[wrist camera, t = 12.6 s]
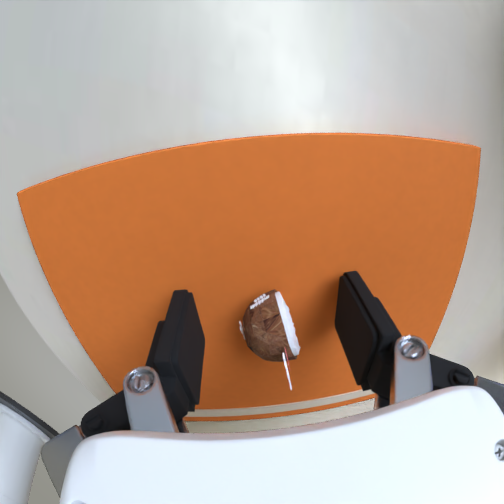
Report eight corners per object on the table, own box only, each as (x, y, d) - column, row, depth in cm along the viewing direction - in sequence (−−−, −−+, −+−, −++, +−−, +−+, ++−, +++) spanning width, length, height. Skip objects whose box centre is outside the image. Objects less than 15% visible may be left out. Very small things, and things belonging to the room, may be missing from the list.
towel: (136, 411, 18) (135, 418, 17) (23, 189, 9) (14, 194, 9) (407, 381, 18) (410, 387, 17) (473, 145, 9) (482, 148, 9)
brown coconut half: (231, 284, 11) (230, 358, 8) (284, 272, 11) (303, 343, 8) (248, 333, 13) (253, 404, 9) (294, 323, 13) (310, 392, 9)
